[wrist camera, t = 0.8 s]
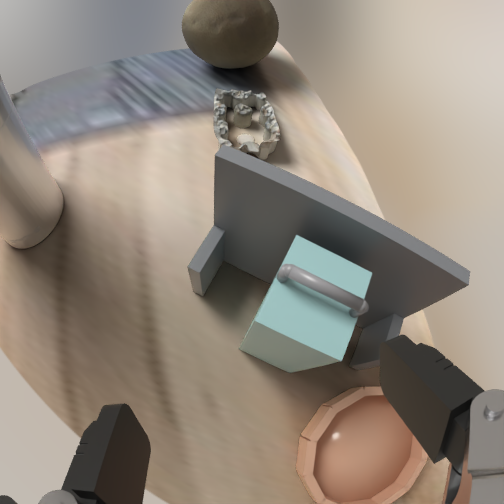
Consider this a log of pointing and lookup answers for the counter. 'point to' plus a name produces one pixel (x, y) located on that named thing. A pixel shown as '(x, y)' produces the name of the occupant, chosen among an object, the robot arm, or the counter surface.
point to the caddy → (308, 309)
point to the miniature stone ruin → (245, 121)
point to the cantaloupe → (230, 31)
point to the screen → (319, 244)
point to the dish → (358, 451)
